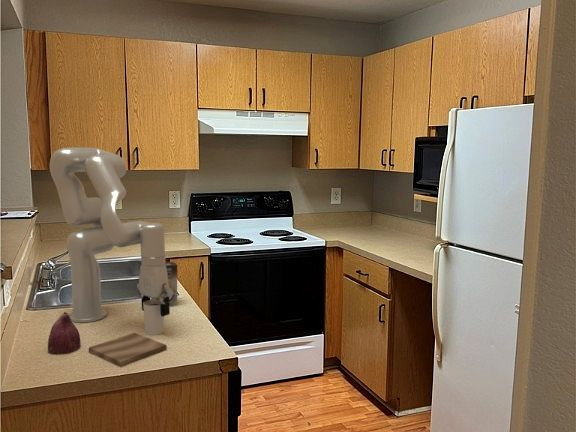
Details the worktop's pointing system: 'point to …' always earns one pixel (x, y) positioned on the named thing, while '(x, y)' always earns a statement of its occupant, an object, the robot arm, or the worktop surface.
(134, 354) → the walnut board
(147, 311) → the white coffee cup
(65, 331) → the vegetable
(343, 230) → the worktop surface
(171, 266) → the coffee box
